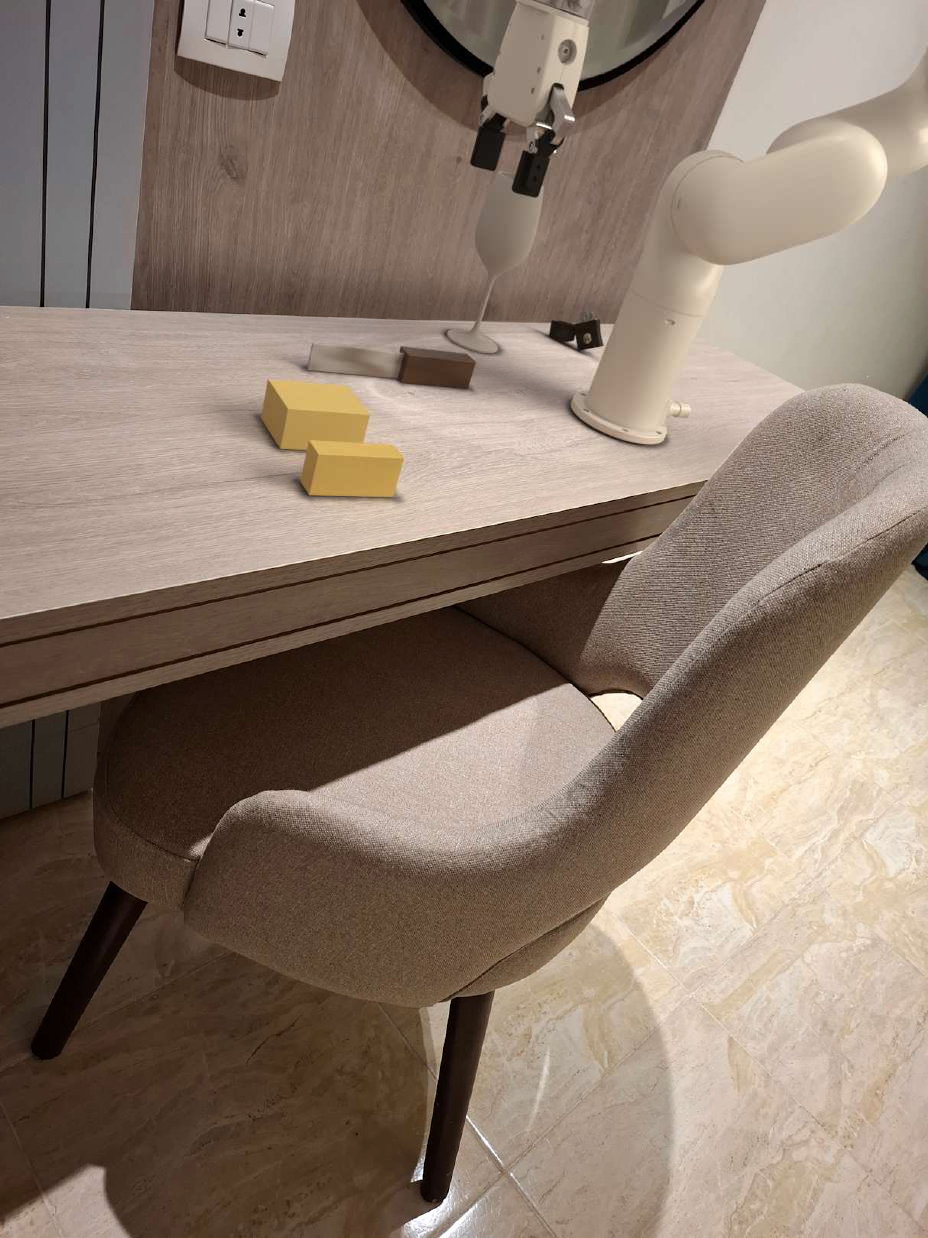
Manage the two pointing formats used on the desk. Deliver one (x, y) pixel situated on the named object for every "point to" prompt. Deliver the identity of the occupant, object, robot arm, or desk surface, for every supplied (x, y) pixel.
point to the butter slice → (351, 469)
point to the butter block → (312, 413)
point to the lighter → (578, 332)
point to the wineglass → (500, 245)
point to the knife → (396, 364)
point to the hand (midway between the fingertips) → (502, 180)
